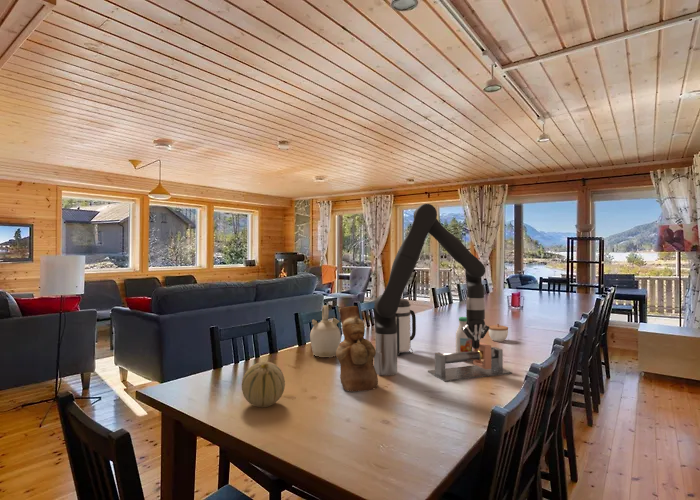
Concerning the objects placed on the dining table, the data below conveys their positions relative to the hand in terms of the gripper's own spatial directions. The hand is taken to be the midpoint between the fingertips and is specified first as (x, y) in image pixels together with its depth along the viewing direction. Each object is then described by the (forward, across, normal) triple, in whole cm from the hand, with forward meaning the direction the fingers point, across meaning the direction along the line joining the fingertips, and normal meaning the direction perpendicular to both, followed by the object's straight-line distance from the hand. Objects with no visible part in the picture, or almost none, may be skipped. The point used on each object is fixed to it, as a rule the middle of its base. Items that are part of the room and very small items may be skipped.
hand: (475, 348), depth 177 cm
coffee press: (+10, -16, +42) cm, 46 cm away
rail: (+10, -3, 0) cm, 11 cm away
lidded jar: (+10, +48, +47) cm, 68 cm away
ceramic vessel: (+10, -53, +3) cm, 54 cm away
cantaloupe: (+10, -90, -8) cm, 91 cm away
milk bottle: (+10, +7, +19) cm, 23 cm away
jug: (+10, -53, +50) cm, 74 cm away
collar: (+8, +3, 0) cm, 9 cm away
